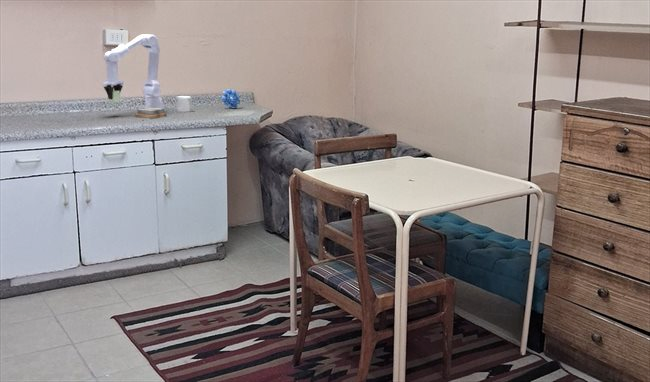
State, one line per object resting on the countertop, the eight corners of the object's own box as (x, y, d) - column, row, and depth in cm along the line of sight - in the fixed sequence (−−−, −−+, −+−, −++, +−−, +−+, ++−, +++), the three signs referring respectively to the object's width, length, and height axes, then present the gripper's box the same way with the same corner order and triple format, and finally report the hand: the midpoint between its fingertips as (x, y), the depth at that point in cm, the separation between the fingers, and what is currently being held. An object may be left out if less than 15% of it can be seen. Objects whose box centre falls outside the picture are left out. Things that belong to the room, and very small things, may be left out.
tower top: (150, 112, 407) (149, 107, 407) (164, 113, 403) (163, 108, 402) (137, 113, 399) (137, 109, 398) (152, 115, 394) (151, 110, 394)
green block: (113, 101, 401) (113, 90, 400) (120, 101, 399) (119, 90, 398) (108, 101, 397) (107, 90, 396) (114, 102, 395) (113, 91, 394)
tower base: (149, 116, 409) (149, 111, 408) (166, 117, 404) (166, 113, 403) (135, 118, 399) (135, 114, 398) (152, 120, 393) (152, 115, 393)
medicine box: (192, 111, 426) (191, 96, 424) (189, 112, 422) (189, 97, 420) (178, 110, 427) (178, 96, 425) (176, 111, 423) (176, 96, 421)
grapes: (223, 109, 434) (223, 89, 431) (220, 108, 440) (220, 88, 437) (242, 108, 438) (242, 89, 435) (238, 107, 444) (238, 87, 441)
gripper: (116, 72, 402) (117, 97, 406) (97, 74, 390) (98, 99, 393) (126, 73, 399) (127, 97, 403) (107, 75, 387) (108, 100, 390)
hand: (113, 98), depth 398 cm, fingers closed on green block, 4 cm apart
